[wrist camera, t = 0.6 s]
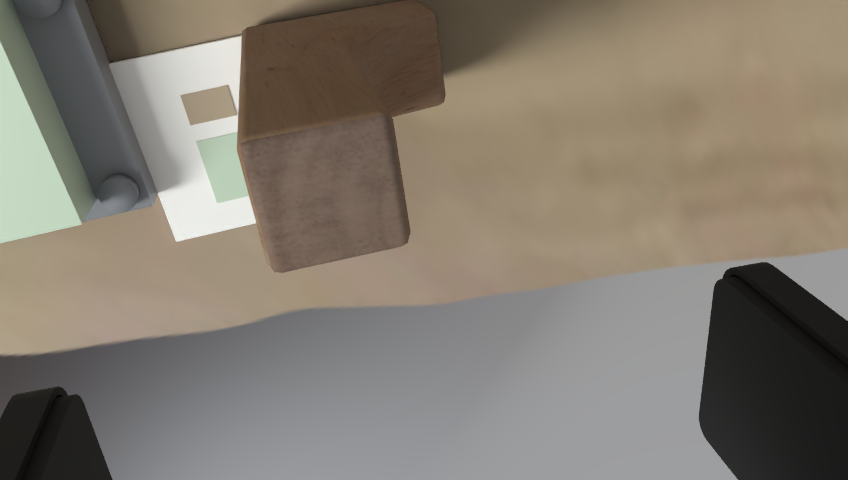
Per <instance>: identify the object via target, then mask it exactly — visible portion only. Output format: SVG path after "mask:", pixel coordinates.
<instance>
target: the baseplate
mask: <svg viewBox="0 0 848 480" xmlns="http://www.w3.org/2000/svg"><path fill="white" fill-rule="evenodd" d="M109 64H110V62H109V59H108V57H107V54H106V51H105V49H104V46H103V44H102V41H101V38H100V36H99V33H98V30H97V28H96V25H95V23H94V20H93V17H92V15H91V12H90V9H89V7H88V4H87V2H86V0H0V243H3V242H7V241H12V240H16V239H21V238H25V237H29V236H34V235H38V234H42V233H47V232H51V231H55V230H60V229H64V228H69V227H73V226H77V225H82V224H83V222H84V221H88V220H92V219H97V218H101V217H106V216H110V215H114V214H119V213H123V212H127V211H132V210H136V209H141V208H145V207H149V206H153V204H154V201H155V199H156V196H157V194H158V192H157V190H156V187H155V184H154V182H153V179H152V177H151V174H150V171H149V169H148V166H147V163H146V161H145V158H144V156H143V153H142V150H141V148H140V145H139V143H138V140H137V137H136V135H135V132H134V129H133V127H132V124H131V122H130V119H129V116H128V114H127V111H126V109H125V106H124V103H123V101H122V98H121V95H120V93H119V90H118V88H117V85H116V82H115V80H114V77H113V74H112V72H111V69H110V67H109Z"/></svg>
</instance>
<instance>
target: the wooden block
mask: <svg viewBox="0 0 848 480" xmlns="http://www.w3.org/2000/svg"><path fill="white" fill-rule="evenodd" d="M444 99H445V87H444V79H443V70H442V61H441V53H440V44H439V36H438V27H437V19H436V16H435V14H434V12H433V11H431V10H430V9H428V8H427V7H425V6H424V5H422V4H421V3H419V2H418V1H416V0H403V1H397V2H391V3H385V4H380V5H374V6H368V7H362V8H356V9H351V10H345V11H339V12H333V13H328V14H322V15H316V16H310V17H304V18H299V19H293V20H287V21H281V22H276V23H270V24H264V25H258V26H253V27H248V28H246V29H245V30H243V31H242V38H241V65H240V84H239V107H238V131H237V153H238V156H239V160H240V164H241V168H242V171H243V175H244V179H245V183H246V186H247V190H248V194H249V198H250V201H251V205H252V209H253V213H254V216H255V220H256V224H257V228H258V231H259V235H260V239H261V243H262V246H263V250H264V254H265V258H266V261H267V264H268V265H269V266H270V267H271V269H272V270H273V271H274V272H282V273H283V272H287V271H292V270H297V269H301V268H306V267H310V266H315V265H319V264H324V263H328V262H333V261H338V260H342V259H347V258H351V257H356V256H360V255H365V254H369V253H374V252H379V251H383V250H388V249H392V248H397V247H401V246H403V245H405V244H406V243H408V239H409V235H410V226H409V220H408V213H407V207H406V200H405V194H404V188H403V181H402V175H401V168H400V162H399V156H398V149H397V143H396V136H395V130H394V124H393V119H392V117H394V116H398V115H402V114H406V113H410V112H414V111H418V110H422V109H426V108H430V107H434V106H438V105H440V104H442V103H443V102H444Z"/></svg>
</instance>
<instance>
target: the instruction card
mask: <svg viewBox="0 0 848 480" xmlns="http://www.w3.org/2000/svg"><path fill="white" fill-rule="evenodd" d="M241 38H242V35H240V36H235V37H230V38H226V39H221V40H216V41H211V42H207V43H202V44H197V45H193V46H188V47H183V48H178V49H174V50H169V51H164V52H160V53H155V54H150V55H146V56H141V57H136V58H131V59H127V60H122V61H117V62H113V63H110V64H109V67H110V69H111V72H112V74H113V77H114V80H115V82H116V85H117V88H118V90H119V93H120V95H121V98H122V101H123V103H124V106H125V109H126V111H127V114H128V116H129V119H130V122H131V124H132V127H133V129H134V132H135V135H136V137H137V140H138V143H139V145H140V148H141V150H142V153H143V156H144V158H145V161H146V163H147V166H148V169H149V171H150V174H151V177H152V179H153V182H154V184H155V187H156V190H157V192H158V195H159V198H160V200H161V203H162V205H163V208H164V211H165V213H166V216H167V218H168V221H169V224H170V226H171V229H172V232H173V234H174V237H175V239H176V242H177V241H181V240H186V239H190V238H194V237H199V236H203V235H207V234H211V233H216V232H220V231H224V230H229V229H233V228H237V227H242V226H246V225H250V224H254V223H256V220H255V216H254V213H253V209H252V205H251V201H250V198H249V194H248V190H247V186H246V183H245V179H244V175H243V171H242V168H241V164H240V160H239V156H238V153H237V131H238V107H239V84H240V65H241Z"/></svg>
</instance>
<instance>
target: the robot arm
mask: <svg viewBox="0 0 848 480" xmlns="http://www.w3.org/2000/svg"><path fill="white" fill-rule="evenodd" d="M699 422H700V427H701V430H702V432H703V434H704V437H705V438H706V440H707V441H708V442H709V444H710V445H711V446H712V447H713V449H714V450H715V451H716V452H717V454H718V455H719V456H720V457H721V459H722V460H723V461H724V463H725V464H726V465H727V466H728V468H729V469H730V470H731V471H732V473H733V474H734V475H735V476H736V477H737V479H738V480H848V321H846V320H845V319H844V318H843V317H841V316H840V315H838V314H837V313H836V312H835V311H833V310H832V309H831V308H829V307H828V306H827V305H825V304H824V303H823V302H821V301H820V300H818V299H817V298H816V297H815V296H813V295H812V294H810V293H809V292H808V291H806V290H805V289H804V288H802V287H801V286H800V285H798V284H797V283H796V282H794V281H793V280H792V279H790V278H789V277H788V276H786V275H785V274H784V273H782V272H781V271H780V270H778V269H777V268H775V267H774V266H773V265H771V264H769V263H767V262H765V263H764V262H761V263H756V264H750V265H744V266H739V267H733V268H730V269H728V270H726V272H725V274H724V275H723V279H720V280H718V281H717V282H716V284H715V286H714V292H713V300H712V309H711V317H710V326H709V334H708V343H707V351H706V360H705V368H704V377H703V386H702V394H701V402H700V411H699ZM0 480H112V477H111V475H110V472H109V469H108V467H107V464H106V462H105V459H104V456H103V454H102V451H101V448H100V445H99V443H98V440H97V437H96V435H95V432H94V429H93V427H92V424H91V421H90V419H89V416H88V413H87V411H86V408H85V405H84V403H83V401H82V398H81V397H80V396H79V395H77V394H75V395H70V396H68V395H67V393H66V391H65V390H64V389H63V388H61V387H54V388H48V389H42V390H37V391H31V392H25V393H19V394H16V395H14V396H12V398H11V399H10V401H9V402H8V404H7V406H6V408H5V410H4V412H3V414H2V416H1V418H0Z"/></svg>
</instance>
